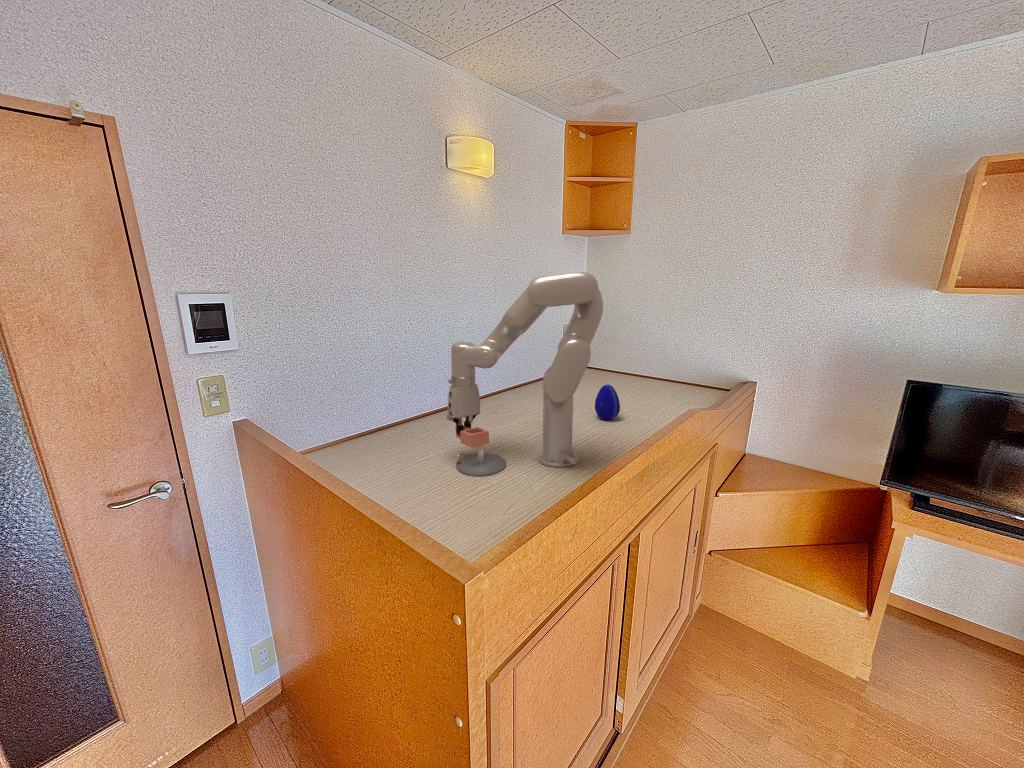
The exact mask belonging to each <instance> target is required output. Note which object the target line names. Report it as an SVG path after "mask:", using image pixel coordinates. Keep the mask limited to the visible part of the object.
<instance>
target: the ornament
mask: <svg viewBox="0 0 1024 768" xmlns="http://www.w3.org/2000/svg"><path fill="white" fill-rule="evenodd" d="M620 405H621V403H620V400H619V395H618V393H617V391H616V389H615V388H614V387H613V386H612V385H610V384H604V385H603V386H602V387H601V388H600V389H599V391H598V393H597V394H596V397H595V401H594V410H595V412H596V415H597V416H598V417H599V418H600V419H602V420H613V419H614V418H617V417H618V415H619V414H620V411H621V406H620Z"/></svg>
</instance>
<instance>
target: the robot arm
mask: <svg viewBox="0 0 1024 768" xmlns="http://www.w3.org/2000/svg"><path fill="white" fill-rule="evenodd" d="M525 288H526V289H524V291H523V292H522V293H521V294H520V296H519V297H518V298H517V299H516V300H515V301H514V302H513V303H512V305H511V306H510V307H509V308H508V309H507V310H505V313H504V314H503V316H502V318H501V319H500V321H499V323H498V324H497V325H496V327H495V328H494V329H493V330H492V331H491V333H490V334H489V335H487V337H486V339H484V341H483V342H482V343H480V344H474V343H472V342H469V341H468V342H467V341H459V342H458V341H457V342H455V343H453V344H452V345H451V355H450V356H451V359H450V360H451V376H450V377H451V378H450V379H448V380H447V383H448V384H450V386H449V390H448V394H447V395H448V396H447V414H446V417H445V418H446V420H448V421H451V422H453V423H455V424H456V425H455V426H456V428H455V434H456V433H457V435H459V436H460V431H463V429H464V426H466V427H468V428H472V424H473V421H474V419H475V418H476V417H477V416H478V415H480V414H481V397H480V391H479V386H478V384H477V383H476V368H479V369H490V368H493V367H494V366H495V365H496V364H497V362H498V361H499V359H500V358H501V357H502V356H503V354H505V352H506V351H507V350H508V349H509V347H511V345H512V344H513V343H514V342H516V340H517V339H518V338H519V337H521V336H523V334H525V333H526V332H527V331H528V330H529V329H530V327H532V325H533V324H534V323H535V322H536V320H538V318H540V316H541V315H542V314H543V313H544V312H545V310H546V309H548V308H552V307H561V306H562V307H563V306H571V305H574V308H573V312H572V314H571V317H570V321H569V322H568V324H567V327H566V329H565V332H564V334H563V335H562V337H561V339H560V341H559V343H558V344H557V352H556V354H555V356H554V358H553V360H552V363H551V365H550V366H549V367H548V368H547V369H546V371H545V372H544V374H543V378H542V391H543V392H542V393H543V394H542V396H543V397H542V398H543V399H542V451H540V452H539V453H538V454H537V460H538V461H539V463H541V464H543V465H545V466H548V467H552V468H563V467H564V468H565V467H569V466H572V465H576V464H577V463H578V461H579V459H580V456H579V455H577V454H576V453H575V448H573V423H574V422H573V418H574V416H573V415H574V394H575V393H576V391H577V388H578V387H579V384H580V383H581V381H582V379H583V377H584V374H585V372H586V369H587V368H588V365H589V363H590V360H591V356H592V350H591V344H592V342H593V340H594V337H595V334H596V332H597V330H598V327H599V325H600V323H601V319H602V317H603V314H604V312H603V311H604V302H603V301H604V300H603V296H602V293H601V291H600V288H599V283H598V281H597V279H596V277H595V276H594V275H593V274H591V273H589V272H587V271H581V272H573V273H567V274H564V273H563V274H557V275H556V274H555V275H548V276H547V275H545V276H538V277H535V278H533V279H532V280H531V281H530V282H529V284H528V286H527V287H525ZM463 418H465V419H464V421H463Z"/></svg>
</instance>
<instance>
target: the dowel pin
mask: <svg viewBox="0 0 1024 768" xmlns="http://www.w3.org/2000/svg"><path fill="white" fill-rule="evenodd" d="M455 456H456V457H455V458H456V459H455V460H456V462H457V464H460V458H461V454H460V453H457V454H455Z"/></svg>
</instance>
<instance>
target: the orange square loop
mask: <svg viewBox="0 0 1024 768" xmlns="http://www.w3.org/2000/svg"><path fill="white" fill-rule="evenodd" d="M454 426H455V429H456V425H454ZM463 426H464V425H463ZM455 437H456V438H457V439H459V440H460V444H462V445H464V446H467V447H469V448H471V449H473V448H478V446H480V445H483V446H484V445H488V444H490V431H489V430H486V429H484V428H481V427H478V426H476V427H471V428H468V427H466V426H464V429H463V431H460V436H459V435H457V433H456V432H455Z"/></svg>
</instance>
